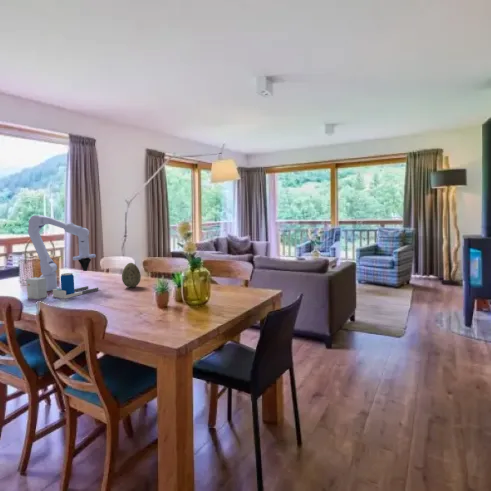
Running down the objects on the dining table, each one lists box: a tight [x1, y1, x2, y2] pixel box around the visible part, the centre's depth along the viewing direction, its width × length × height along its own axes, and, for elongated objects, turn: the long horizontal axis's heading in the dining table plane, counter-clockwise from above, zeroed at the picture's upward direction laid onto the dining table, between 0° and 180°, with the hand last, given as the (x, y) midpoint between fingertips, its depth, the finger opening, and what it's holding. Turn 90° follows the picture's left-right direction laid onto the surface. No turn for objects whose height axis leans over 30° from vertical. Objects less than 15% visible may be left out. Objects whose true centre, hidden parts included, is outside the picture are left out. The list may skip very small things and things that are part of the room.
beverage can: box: [60, 272, 76, 295], centre depth 201 cm, size 6×6×12 cm
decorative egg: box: [121, 262, 142, 289], centre depth 220 cm, size 11×11×15 cm
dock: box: [52, 285, 99, 300], centre depth 206 cm, size 10×22×5 cm, turn 152°
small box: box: [25, 276, 48, 300], centre depth 197 cm, size 8×6×10 cm
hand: (85, 270), depth 219 cm, fingers closed
